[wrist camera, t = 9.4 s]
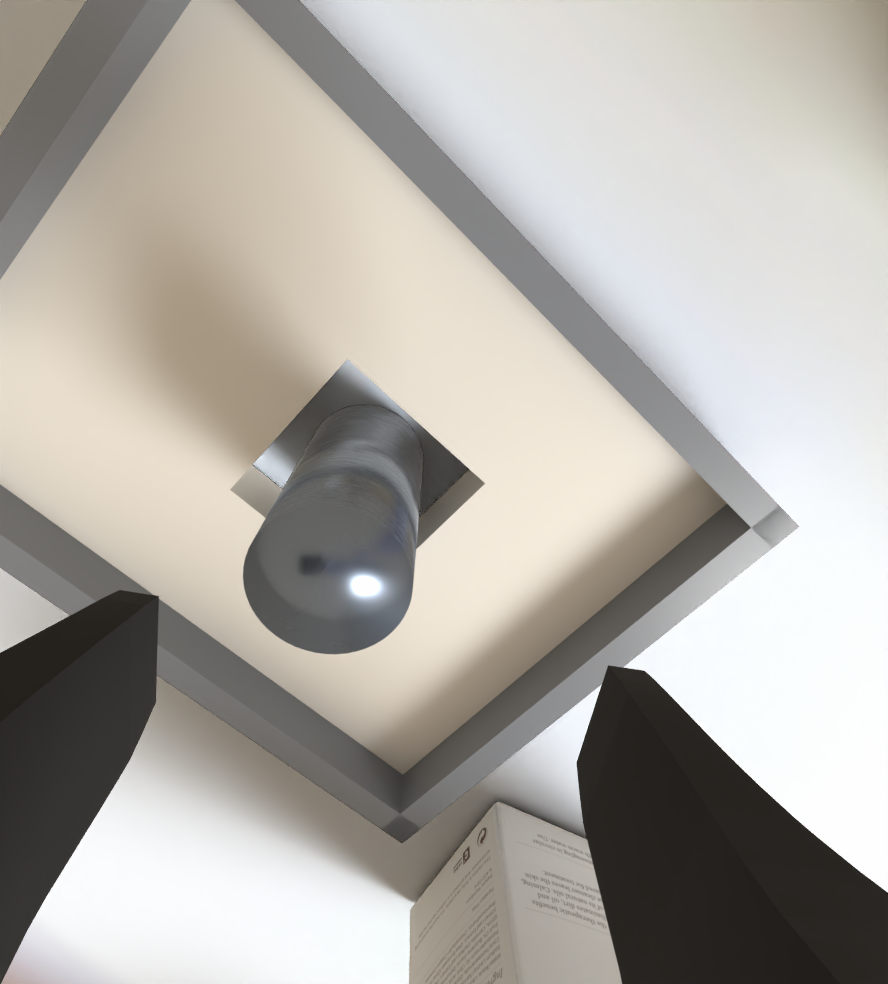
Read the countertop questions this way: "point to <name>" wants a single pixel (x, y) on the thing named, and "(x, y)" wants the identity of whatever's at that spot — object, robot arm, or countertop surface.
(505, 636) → the tray
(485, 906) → the skincare box
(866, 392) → the countertop surface
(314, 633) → the peg
